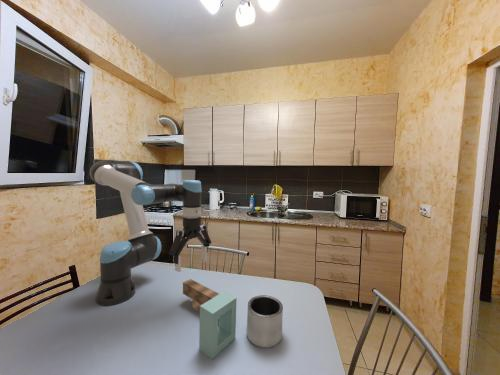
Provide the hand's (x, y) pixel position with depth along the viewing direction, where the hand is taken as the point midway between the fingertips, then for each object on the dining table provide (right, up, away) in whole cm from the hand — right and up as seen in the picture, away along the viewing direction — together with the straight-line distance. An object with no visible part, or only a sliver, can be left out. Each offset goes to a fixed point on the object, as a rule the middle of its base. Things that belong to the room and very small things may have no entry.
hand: (191, 265), depth 91 cm
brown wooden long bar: (+6, -13, -4) cm, 15 cm away
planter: (+30, -19, -16) cm, 39 cm away
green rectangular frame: (+14, -19, -20) cm, 31 cm away
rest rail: (+6, -17, -4) cm, 19 cm away
